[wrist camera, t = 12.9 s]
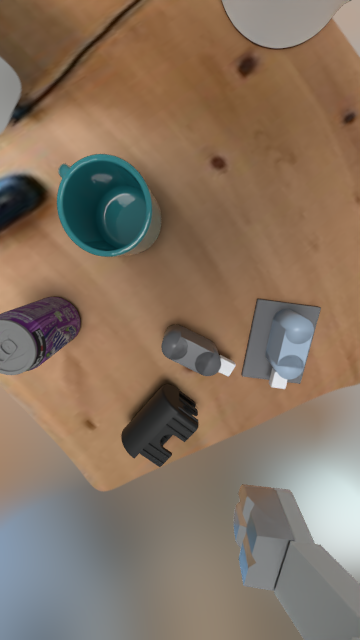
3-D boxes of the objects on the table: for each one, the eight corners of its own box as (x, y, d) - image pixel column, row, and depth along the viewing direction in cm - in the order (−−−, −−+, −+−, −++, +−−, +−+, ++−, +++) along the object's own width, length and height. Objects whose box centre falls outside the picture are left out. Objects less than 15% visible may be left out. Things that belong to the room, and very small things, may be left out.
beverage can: (57, 350, 41) (6, 390, 29) (24, 314, 39) (-42, 341, 28) (92, 324, 40) (53, 355, 28) (59, 286, 38) (5, 302, 27)
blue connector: (275, 307, 38) (289, 315, 33) (300, 310, 38) (316, 319, 33) (260, 376, 41) (270, 393, 36) (282, 379, 41) (295, 396, 36)
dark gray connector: (160, 340, 40) (157, 352, 35) (170, 320, 39) (168, 330, 34) (223, 371, 41) (228, 387, 36) (234, 352, 40) (241, 366, 36)
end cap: (164, 375, 42) (160, 398, 35) (198, 401, 43) (201, 428, 36) (126, 417, 44) (116, 447, 37) (160, 441, 45) (156, 474, 38)
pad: (257, 298, 38) (258, 299, 38) (318, 306, 38) (320, 307, 38) (241, 374, 41) (242, 376, 41) (298, 381, 41) (300, 383, 41)
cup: (102, 151, 34) (63, 104, 23) (175, 215, 36) (171, 200, 25) (64, 210, 36) (11, 193, 25) (135, 268, 37) (114, 275, 27)
